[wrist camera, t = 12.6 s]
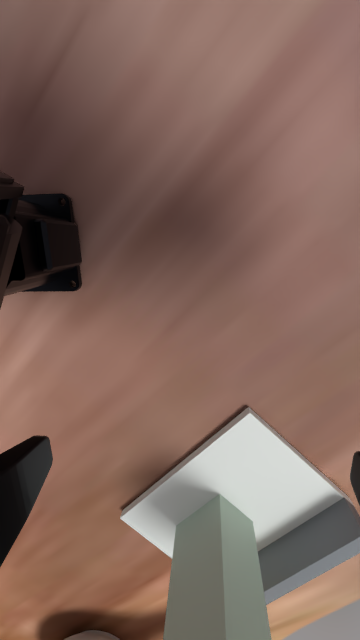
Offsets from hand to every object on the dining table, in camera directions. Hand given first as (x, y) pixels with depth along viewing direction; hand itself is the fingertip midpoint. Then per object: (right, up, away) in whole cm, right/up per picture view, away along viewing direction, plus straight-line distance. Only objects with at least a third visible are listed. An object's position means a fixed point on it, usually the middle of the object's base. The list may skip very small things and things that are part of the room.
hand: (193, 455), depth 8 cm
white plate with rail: (+4, -12, +17) cm, 21 cm away
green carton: (+3, -14, +16) cm, 22 cm away
